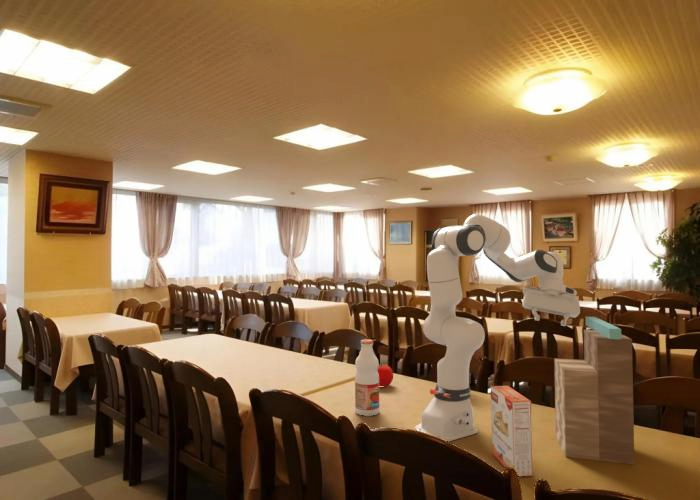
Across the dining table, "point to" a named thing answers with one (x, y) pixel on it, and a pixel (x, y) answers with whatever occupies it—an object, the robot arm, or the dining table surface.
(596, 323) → the teal bar
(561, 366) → the step stand
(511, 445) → the cracker box
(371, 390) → the fruit juice
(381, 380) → the tomato
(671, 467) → the dining table surface
